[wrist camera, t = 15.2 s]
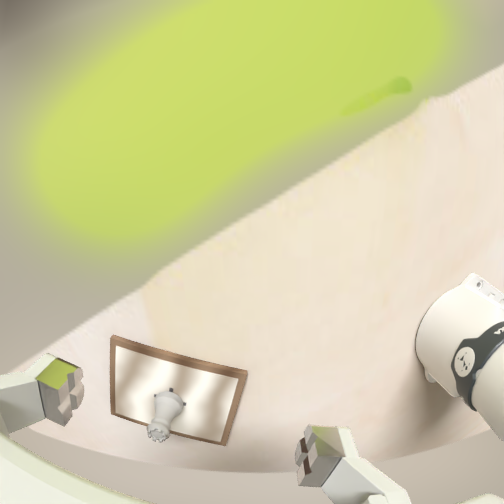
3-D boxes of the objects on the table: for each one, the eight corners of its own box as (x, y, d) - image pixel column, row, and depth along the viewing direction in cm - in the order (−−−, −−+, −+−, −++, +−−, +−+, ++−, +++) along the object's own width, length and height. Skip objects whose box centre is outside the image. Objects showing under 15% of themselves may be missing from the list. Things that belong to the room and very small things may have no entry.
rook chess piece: (152, 389, 41) (136, 423, 34) (180, 389, 41) (167, 425, 33) (160, 411, 42) (146, 445, 34) (187, 411, 42) (176, 447, 34)
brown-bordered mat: (247, 370, 42) (247, 375, 40) (225, 441, 45) (225, 447, 44) (113, 334, 41) (109, 338, 40) (113, 410, 44) (110, 414, 43)
